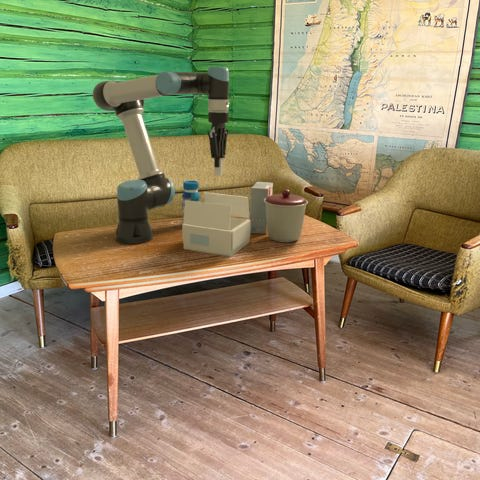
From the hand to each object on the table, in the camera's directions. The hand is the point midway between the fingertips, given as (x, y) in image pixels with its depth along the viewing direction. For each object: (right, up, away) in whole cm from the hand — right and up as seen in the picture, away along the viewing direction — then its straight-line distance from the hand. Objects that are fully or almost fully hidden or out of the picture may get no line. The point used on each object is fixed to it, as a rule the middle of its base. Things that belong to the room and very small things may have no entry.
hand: (218, 175), depth 185 cm
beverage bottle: (-14, -18, +35) cm, 42 cm away
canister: (+27, -24, +19) cm, 41 cm away
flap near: (-4, -15, -4) cm, 16 cm away
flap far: (+3, -11, +11) cm, 15 cm away
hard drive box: (+17, -20, +32) cm, 41 cm away
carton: (-1, -27, +8) cm, 28 cm away
